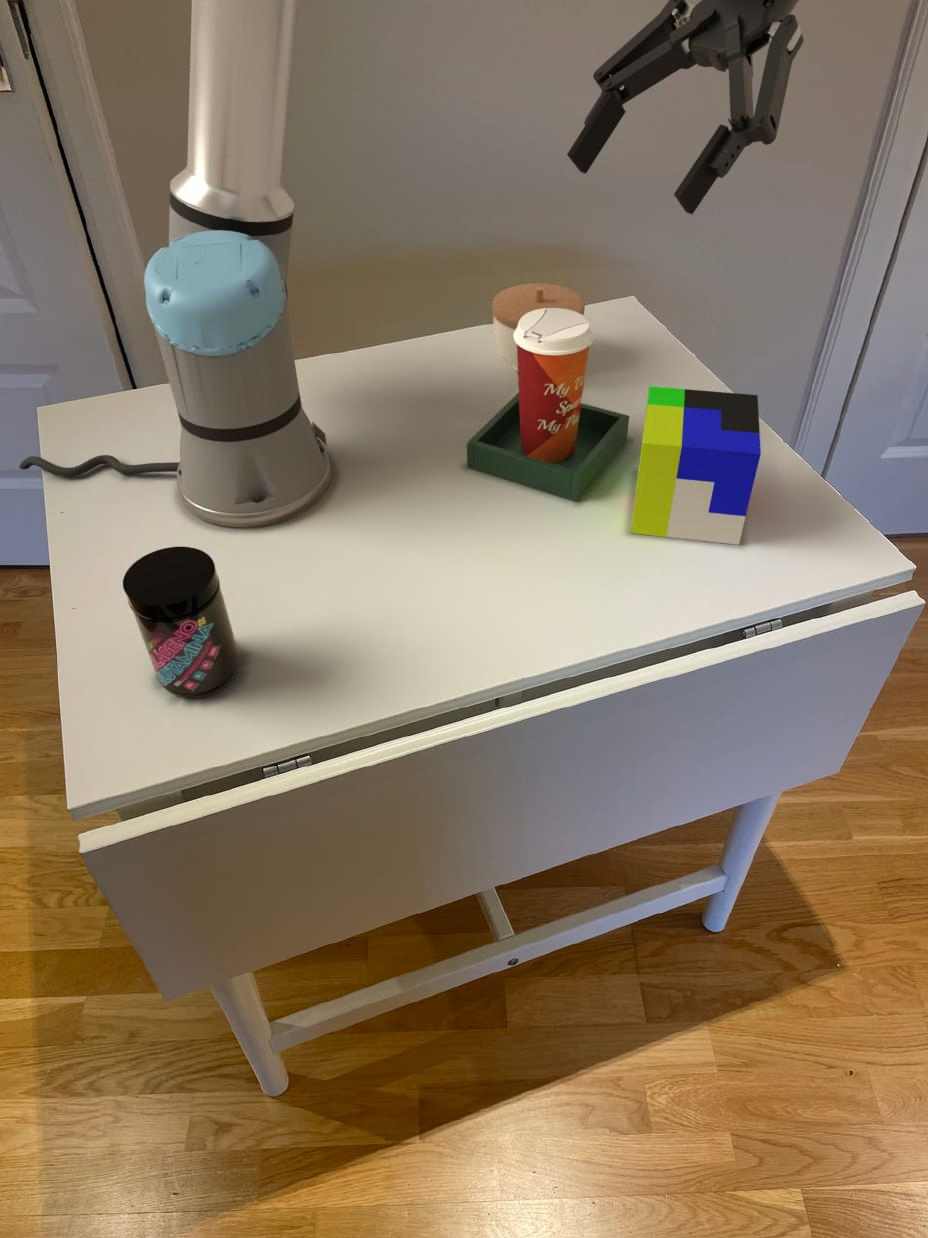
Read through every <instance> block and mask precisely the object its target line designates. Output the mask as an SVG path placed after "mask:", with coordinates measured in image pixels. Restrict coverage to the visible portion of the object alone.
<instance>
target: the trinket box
mask: <svg viewBox="0 0 928 1238" xmlns="http://www.w3.org/2000/svg"><path fill="white" fill-rule="evenodd" d="M543 308H562V309H568V310H572V311H575V312H577V313H580V314H582V315H583V316H584V315H585V308H586V304H585V300H584V298H583V297H582V295H581V294H579V293H578V292H576V291H575V290H573V289H571V288H568V287H566V286H563V285H558V284H552V283H540V282H539V283H535V282H534V283H525V284H524V283H523V284H519V285H515V286H510V287H508V288H506V289H504V290H501V291H500V292H499V293H497V294H496V296H495V297H494V298H493V300H492V304H491V311H492V315H493V316H492V321H493V333H494V338H495V342H496V346H497V349H498V351H499V352H500V354H501V356H502V358H503V359H505V360H506V361H507V362H508V363H509V365H511V367H512V369H513V370H514V371H516V372H518V361H517V343H516V342H515V341H514V337H513V334H514V331H515V330H516V328H517V327H518V322H519V320H520V319H521V317H522V316H523V315H525V314H526V313H528V312H531V311H534V310H537V309H543Z"/></svg>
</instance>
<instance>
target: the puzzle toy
mask: <svg viewBox="0 0 928 1238" xmlns="http://www.w3.org/2000/svg"><path fill="white" fill-rule="evenodd" d="M759 413H760V412H759V397H758V394H749V393H736V392H726V391H725V392H724V391H713V390H703V389H702V390H700V389H689V388H688V389H687V388H675V387H663V386H651V385H650V386H649V387H648V394H647V401H646V409H645V417H644V423H643V432H642V439H641V445H640V446H641V447H640V453H639V461H638V469H637V475H636V485H635V493H634V503H633V511H632V520H631V527H630V534H635V535H643V536H653V537H662V538H671V539H672V538H673V539H680V540H681V539H682V540H691V541H698V542H699V541H700V542H709V543H717V544H727V545H738V546H739V545H740V543H741V542H740V541H741V538H742V533H743V530H744V525H745V522H746V517H747V513H748V509H749V505H750V500H751V497H752V491H753V488H754V484H755V480H756V476H757V473H758V472H757V471H758V468H759V463H760V459H761V455H762V451H761V449H762V448H761V434H760V433H761V432H760V431H761V429H760V416H759Z"/></svg>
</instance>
